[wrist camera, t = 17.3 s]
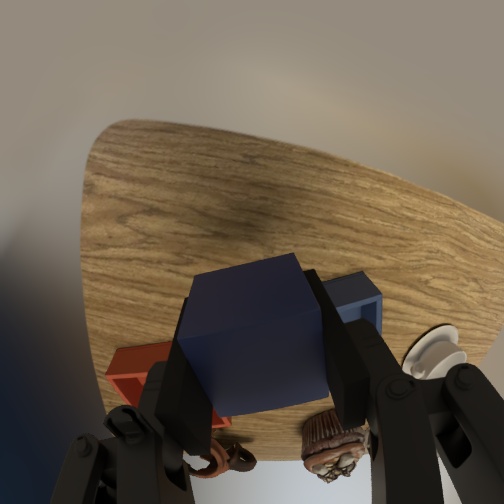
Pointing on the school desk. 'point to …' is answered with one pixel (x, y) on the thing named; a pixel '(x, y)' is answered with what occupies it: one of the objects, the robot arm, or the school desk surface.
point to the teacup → (434, 354)
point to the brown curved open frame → (224, 460)
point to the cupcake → (331, 446)
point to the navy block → (255, 337)
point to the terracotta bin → (142, 374)
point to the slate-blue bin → (356, 299)
